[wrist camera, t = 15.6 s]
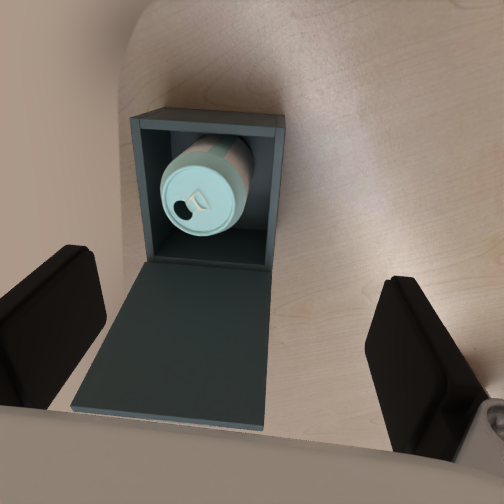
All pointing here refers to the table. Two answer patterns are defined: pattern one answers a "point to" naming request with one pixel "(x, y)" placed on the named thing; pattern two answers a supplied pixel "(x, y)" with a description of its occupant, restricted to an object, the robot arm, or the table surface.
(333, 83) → the table surface
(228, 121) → the chest
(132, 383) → the lid
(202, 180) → the can
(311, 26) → the table surface
